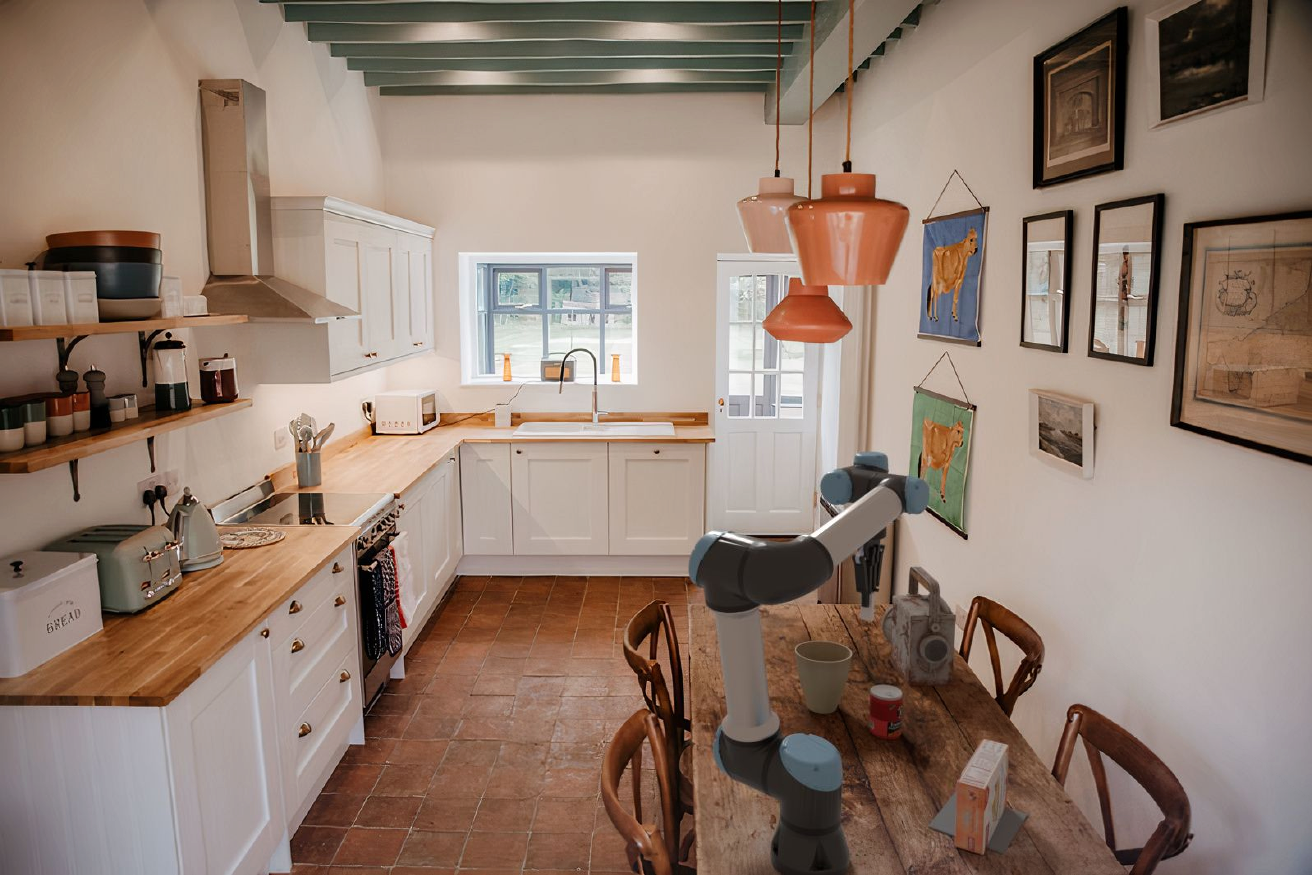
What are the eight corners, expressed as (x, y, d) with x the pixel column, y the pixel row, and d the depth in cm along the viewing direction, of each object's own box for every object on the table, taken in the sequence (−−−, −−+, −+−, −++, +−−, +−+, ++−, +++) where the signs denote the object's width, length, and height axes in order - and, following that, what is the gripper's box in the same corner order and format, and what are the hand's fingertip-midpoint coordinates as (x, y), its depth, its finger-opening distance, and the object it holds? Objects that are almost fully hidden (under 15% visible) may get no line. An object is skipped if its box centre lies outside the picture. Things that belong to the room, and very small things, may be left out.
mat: (1003, 854, 171) (1003, 852, 171) (928, 827, 180) (928, 825, 180) (1027, 815, 184) (1027, 814, 184) (956, 791, 193) (956, 790, 193)
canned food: (892, 743, 215) (893, 700, 213) (863, 732, 220) (864, 691, 219) (907, 731, 220) (908, 690, 219) (878, 722, 226) (879, 681, 224)
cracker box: (1009, 805, 187) (983, 857, 170) (980, 796, 191) (951, 846, 174) (1012, 744, 185) (986, 790, 168) (982, 736, 188) (954, 781, 171)
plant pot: (852, 722, 226) (853, 663, 223) (793, 718, 228) (794, 660, 226) (849, 697, 240) (851, 641, 238) (794, 693, 243) (795, 638, 240)
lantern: (928, 651, 271) (931, 557, 266) (961, 689, 244) (965, 585, 240) (877, 652, 270) (880, 558, 266) (905, 690, 244) (908, 587, 239)
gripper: (873, 528, 192) (870, 631, 195) (896, 516, 202) (893, 614, 206) (841, 523, 196) (839, 624, 200) (866, 512, 207) (864, 608, 210)
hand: (867, 619), depth 203 cm, fingers closed
